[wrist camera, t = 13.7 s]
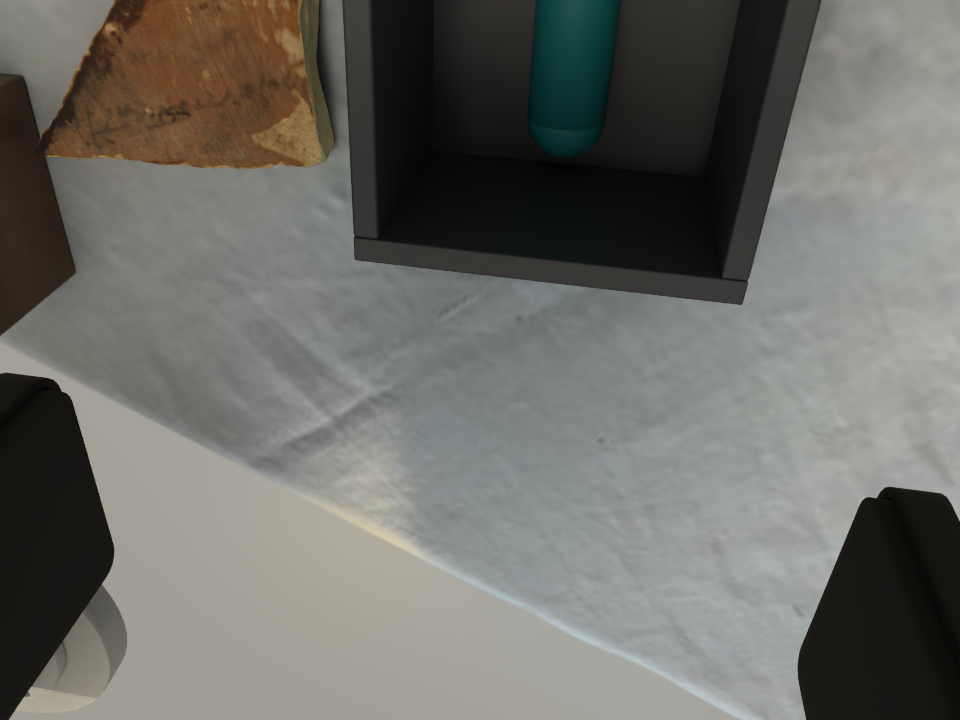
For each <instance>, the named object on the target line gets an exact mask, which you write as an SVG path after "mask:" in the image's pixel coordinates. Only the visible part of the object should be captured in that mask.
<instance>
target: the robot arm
mask: <svg viewBox="0 0 960 720" xmlns="http://www.w3.org/2000/svg"><path fill="white" fill-rule="evenodd" d="M113 558H114V545H113V542H112V538H111V534H110V531H109V528H108V524H107V521H106V517H105V513H104V510H103V507H102V503H101V500H100V496H99V493H98V489H97V486H96V483H95V479H94V475H93V472H92V468H91V465H90V461H89V458H88V454H87V451H86V447H85V444H84V441H83V437H82V434H81V431H80V427H79V423H78V420H77V416H76V413H75V410H74V406H73V402H72V400H71V398H70V396H68V394H67V393H64V392H62V391H61V389H60V387H59V385H58V384H57V383H56V382H55V381H54V380H52V379H49V378H43V377H35V376H27V375H20V374H12V373H3V374H0V720H9V718H10V717H11V715H12V714H13V712H14V711H15V710H16V708H17V707H18V705H19V704H20V702H21V701H22V700H27V699H33V698H37V697H39V696H42V695H44V694H46V693H47V692H49V691H50V690H51V689H52V688H54V686H55V685H56V683H57V682H58V680H59V679H60V677H61V676H62V674H63V672H64V669H65V666H66V653H65V650H64V647H63V644H62V641H63V640H64V638H65V637H66V635H67V634H68V632H69V631H70V629H71V628H72V627H73V625H74V624H75V622H76V621H77V619H78V618H79V616H80V615H81V613H82V612H83V610H84V609H85V608H86V606H87V605H88V603H89V602H90V600H91V599H92V597H93V596H94V594H95V593H96V592H97V590H98V589H99V587H100V586H101V584H102V583H103V581H104V580H105V578H106V577H107V575H108V573H109V572H110V569H111V566H112V563H113ZM798 680H799V686H800V691H801V696H802V701H803V706H804V711H805V716H806V720H960V521H959V519H958V517H957V515H956V513H955V511H954V509H953V507H952V505H951V503H950V501H949V500H948V498H947V497H946V496H944V495H943V494H941V493H933V492H926V491H918V490H910V489H902V488H895V487H886V488H884V489H883V490H882V491H881V492H880V494H879V496H878V497H877V498H870V497H868V498H865V499H864V500H863V501H862V502H861V504H860V506H859V508H858V511H857V513H856V515H855V518H854V520H853V523H852V525H851V528H850V530H849V532H848V535H847V537H846V540H845V542H844V545H843V547H842V549H841V552H840V554H839V557H838V559H837V561H836V564H835V566H834V569H833V571H832V574H831V576H830V578H829V581H828V583H827V586H826V588H825V591H824V593H823V595H822V598H821V600H820V603H819V605H818V607H817V610H816V612H815V615H814V617H813V620H812V622H811V624H810V627H809V629H808V632H807V634H806V637H805V639H804V641H803V644H802V646H801V649H800V652H799V658H798Z"/></svg>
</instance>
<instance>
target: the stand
mask: <svg viewBox="0 0 960 720" xmlns="http://www.w3.org/2000/svg"><path fill="white" fill-rule="evenodd" d="M39 141H40V140H39V137H38V133H37V129H36V125H35V122H34V118H33V114H32V110H31V107H30V103H29V99H28V96H27V92H26V88H25V84H24V81H23V78H22V77H20V76H11V75H1V74H0V336H1V335H2V334H3V333H4V332H6V331H7V330H8V329H9V328H10V327H12V326H13V325H14V324H15V323H16V322H18V321H19V320H20V319H21V318H22V317H24V316H25V315H26V314H27V313H29V312H30V311H31V310H32V309H33V308H35V307H36V306H37V305H38V304H39V303H41V302H42V301H43V300H44V299H45V298H47V297H48V296H49V295H50V294H51V293H53V292H54V291H55V290H56V289H57V288H59V287H60V286H61V285H62V284H63V283H65V282H66V281H67V280H68V279H69V278H71V277H72V276H73V275H74V274H75V271H74V267H73V263H72V260H71V256H70V252H69V248H68V245H67V241H66V237H65V233H64V230H63V226H62V222H61V219H60V215H59V211H58V207H57V204H56V200H55V196H54V192H53V189H52V185H51V181H50V178H49V174H48V170H47V166H46V163H45V159H44V156H41V157H35V156H34V155H33V152H34V151H35V149H36V147H37V145H38V143H39Z"/></svg>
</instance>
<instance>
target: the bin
mask: <svg viewBox="0 0 960 720" xmlns="http://www.w3.org/2000/svg"><path fill="white" fill-rule="evenodd" d="M342 1H343V21H344V42H345V62H346V83H347V103H348V124H349V145H350V165H351V186H352V206H353V227H354V235H355V237H354V255H355V260H359V261H367V262H376V263H385V264H393V265H402V266H411V267H419V268H428V269H436V270H445V271H454V272H462V273H471V274H479V275H488V276H497V277H505V278H514V279H523V280H531V281H540V282H548V283H557V284H566V285H574V286H583V287H591V288H600V289H609V290H617V291H626V292H635V293H643V294H652V295H660V296H669V297H678V298H686V299H695V300H703V301H712V302H721V303H729V304H738V305H742V303H743V300H744V297H745V293H746V289H747V285H748V281H747V280H748V279H749V277H750V273H751V269H752V265H753V261H754V257H755V253H756V250H757V246H758V242H759V238H760V234H761V230H762V227H763V223H764V219H765V215H766V211H767V207H768V204H769V200H770V196H771V192H772V188H773V184H774V181H775V177H776V173H777V169H778V165H779V161H780V157H781V154H782V150H783V146H784V142H785V138H786V134H787V131H788V127H789V123H790V119H791V115H792V111H793V108H794V104H795V100H796V96H797V92H798V88H799V84H800V81H801V77H802V73H803V69H804V65H805V61H806V58H807V54H808V50H809V46H810V42H811V38H812V35H813V31H814V27H815V23H816V19H817V15H818V12H819V8H820V4H821V0H621V6H620V14H619V21H618V29H617V37H616V44H615V52H614V60H613V67H612V75H611V83H610V90H609V98H608V106H607V113H606V121H605V126H604V130H603V132H602V134H601V136H600V138H599V140H598V141H597V142H596V144H595V145H594V146H593V147H592V148H591V149H589V150H588V151H587V152H585V153H583V154H581V155H579V156H575V157H572V158H559V157H555V156H552V155H550V154H548V153H546V152H544V151H543V150H542V149H540V148H539V147H538V146H537V144H536V143H535V142H534V140H533V139H532V137H531V134H530V132H529V129H528V124H527V110H528V97H529V84H530V70H531V57H532V44H533V31H534V17H535V4H536V0H342Z"/></svg>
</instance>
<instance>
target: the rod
mask: <svg viewBox="0 0 960 720" xmlns="http://www.w3.org/2000/svg"><path fill="white" fill-rule="evenodd" d="M620 6H621V0H536V4H535V17H534V31H533V44H532V57H531V70H530V84H529V97H528V110H527V124H528V129H529V132H530V134H531V137H532V139H533V140H534V142H535V143H536V144H537V146H538V147H539V148H540V149H542V150H543V151H544V152H546V153H548V154H550V155H552V156H555V157H559V158H572V157H575V156H579V155H581V154H583V153H585V152H587V151H588V150H589V149H591V148H592V147H593V146H594V145H595V144H596V142H597V141H598V140H599V138H600V136H601V134H602V132H603V130H604V126H605V121H606V113H607V106H608V98H609V90H610V83H611V75H612V67H613V60H614V52H615V44H616V37H617V29H618V21H619V14H620Z"/></svg>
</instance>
